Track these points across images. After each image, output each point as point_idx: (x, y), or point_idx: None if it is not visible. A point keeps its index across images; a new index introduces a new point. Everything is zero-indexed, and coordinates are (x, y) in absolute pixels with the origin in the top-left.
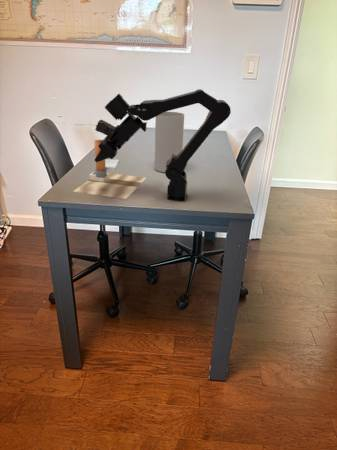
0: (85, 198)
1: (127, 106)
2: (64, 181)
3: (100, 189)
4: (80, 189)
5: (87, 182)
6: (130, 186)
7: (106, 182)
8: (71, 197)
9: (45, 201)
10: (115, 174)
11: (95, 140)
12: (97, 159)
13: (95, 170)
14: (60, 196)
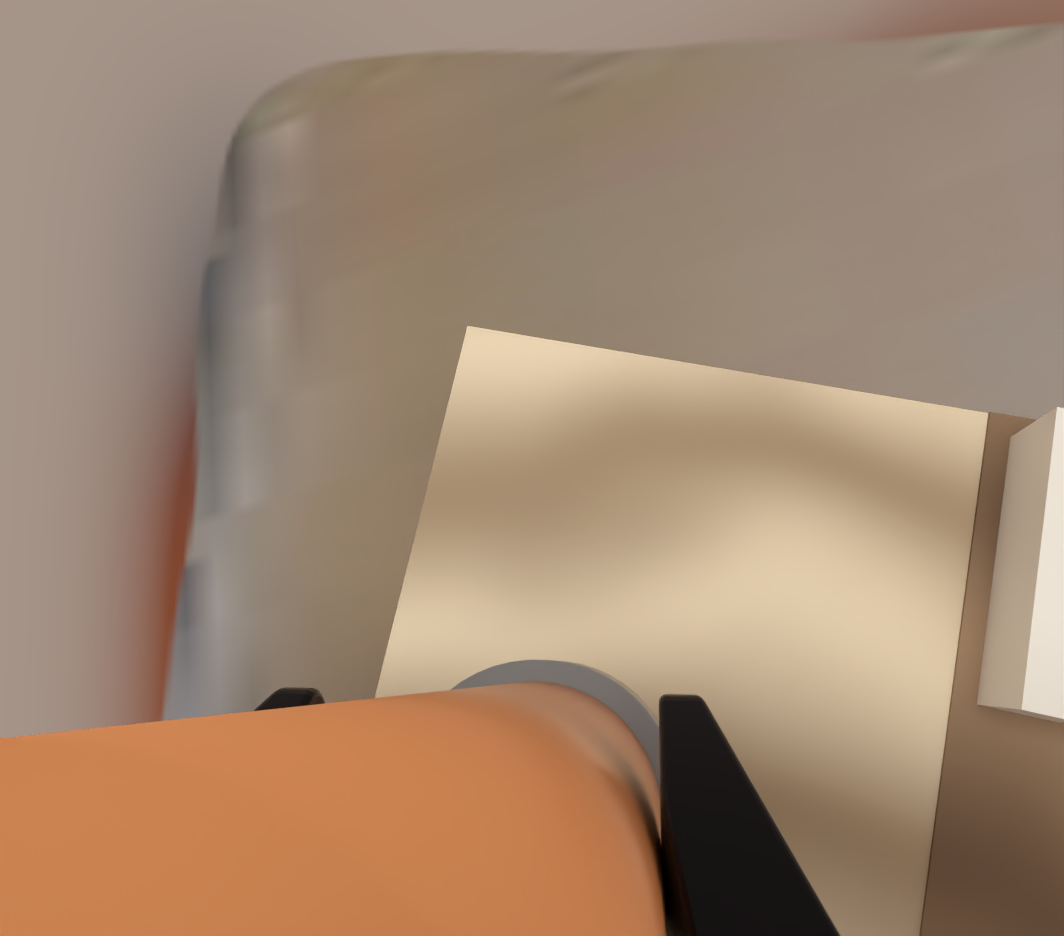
0: (383, 539)
1: None
2: (1000, 54)
3: None
4: (555, 407)
5: (893, 425)
6: None
7: (959, 764)
8: (402, 348)
9: (259, 103)
10: None
11: (120, 854)
12: None
13: (493, 667)
14: (422, 206)
